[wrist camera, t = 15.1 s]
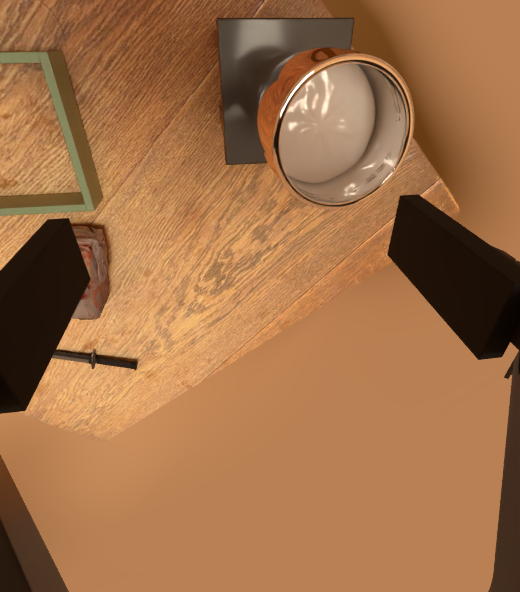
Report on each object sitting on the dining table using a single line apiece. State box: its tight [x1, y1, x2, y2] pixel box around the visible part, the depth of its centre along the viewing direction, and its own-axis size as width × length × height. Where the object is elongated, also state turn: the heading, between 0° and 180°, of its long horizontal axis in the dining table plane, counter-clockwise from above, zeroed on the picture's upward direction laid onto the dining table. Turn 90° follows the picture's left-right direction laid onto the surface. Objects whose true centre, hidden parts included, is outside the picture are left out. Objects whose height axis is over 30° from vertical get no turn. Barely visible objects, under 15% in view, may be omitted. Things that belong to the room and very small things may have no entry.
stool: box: [215, 18, 354, 165], centre depth 37 cm, size 10×10×22 cm
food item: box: [72, 226, 109, 320], centre depth 54 cm, size 14×8×10 cm, turn 173°
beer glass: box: [247, 46, 414, 210], centre depth 22 cm, size 7×7×15 cm
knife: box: [52, 350, 138, 370], centre depth 69 cm, size 25×2×5 cm
